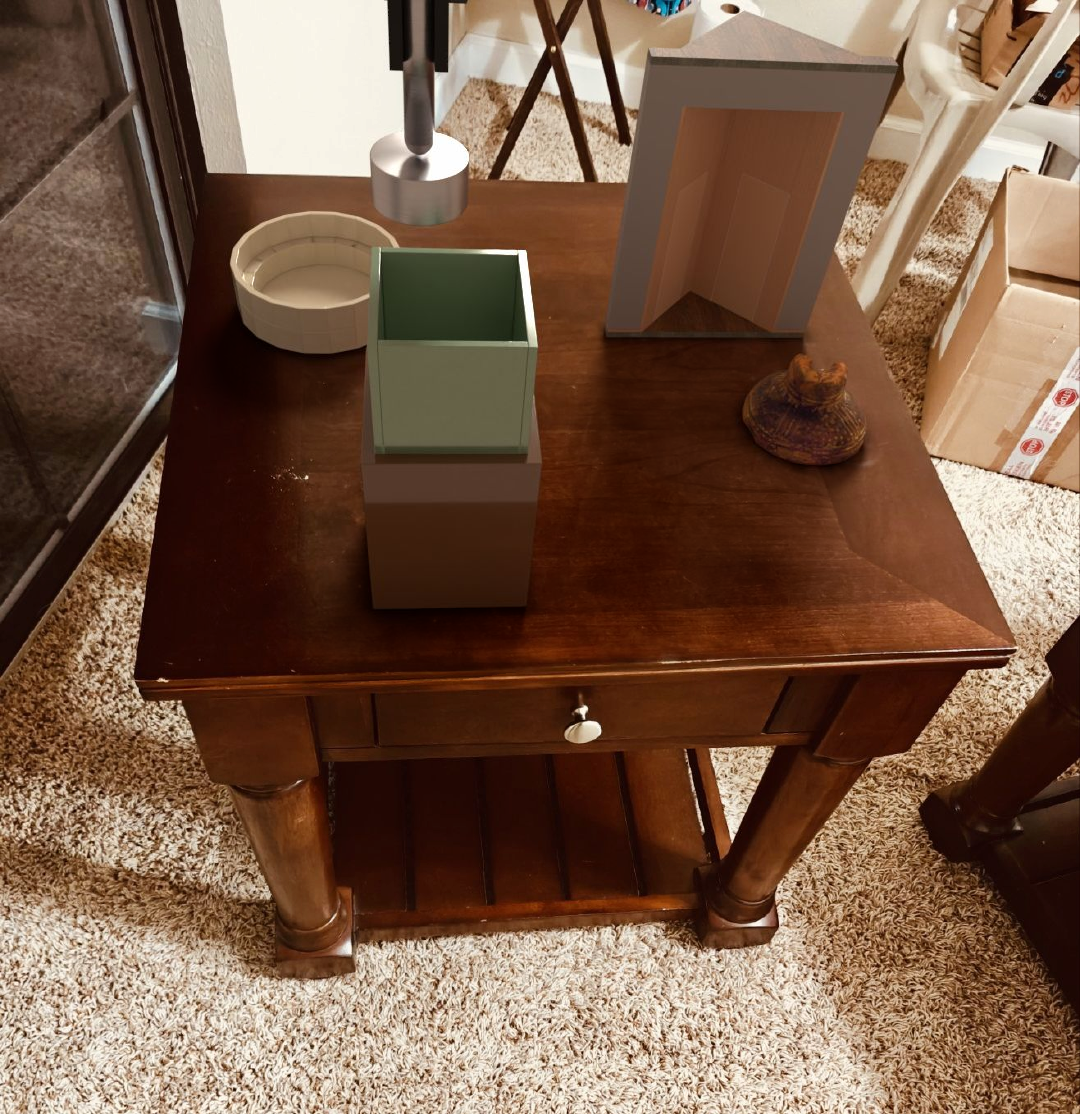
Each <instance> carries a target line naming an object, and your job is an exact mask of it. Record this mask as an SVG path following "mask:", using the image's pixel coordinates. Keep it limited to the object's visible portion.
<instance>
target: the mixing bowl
mask: <svg viewBox="0 0 1080 1114" xmlns="http://www.w3.org/2000/svg"><path fill="white" fill-rule="evenodd" d="M372 247H395V248H401V247H400V245H399V244H398V242H397V240H396V238H395V237H394V236H393V235H392V234H390V233H389V232H388V231H387V230H386V229H385V228H383V227H382V226H380V225H379V224H376V223H375V222H372V221H370V220H368V219H365V218H364V217H361V216H357V215H352V214H348V213H343V212H338V211H324V210H323V211H322V210H321V211H317V210H313V211H312V210H307V211H302V212H294V213H288V214H283V215H280V216H277V217H274V218H271V219H269V220H266V221H263V222H261V223H259V224H258V225H256V226H255V227H254V228H251V229H250V230H248V231H247V232H245V233H244V234H243V235H242V236H241V237H240V239H239V240H238V241H237V242H236V244H234V246H233V248H232V250H231V251H232V252H231V257H230V260H229V261H230V262H229V266H230V271H231V277H232V283H233V289H234V293H235V299H236V303H237V308H238V312H239V315H240V317H241V320H242V323H243V325H245V327H247V329H248V330H249V331H251V332H252V334H253V335H254V336H255V337H256V338H258V339H259V340H262V341H264V342H266V343H268V344H270V345H272V346H274V347H275V348H279V349H282V350H288V351H291V352H295V353H301V354H322V355H323V354H324V355H325V354H328V355H329V354H337V353H341V352H347V351H353V350H358V349H360V348H363V347H364V346H367V335H368V314H369V293H370V273H371V252H372Z"/></svg>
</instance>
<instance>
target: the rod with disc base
mask: <svg viewBox="0 0 1080 1114" xmlns="http://www.w3.org/2000/svg"><path fill="white" fill-rule="evenodd" d="M402 34H403V71H402V91H403V92H402V97H403V99H402V101H403V104H402V105H403V131H397V132H393V133H389V134H387V135H384V136H383V137H380V138H379V139H378V140H376V142H374V143H373V145H372V146H371V149H370V151H369V167H370V185H371V187H370V189H371V202H372V204H373V206H374V208H375V209H376V211H377V212H378V213H379V214H381V215H382V216H383V217H384V218H386V219H388V220H391V221H393V222H395V223H398V224H403V225H407V226H413V227H433V226H438V225H443V224H446V223H449V222H452V221H454V220H456V219H458V218H459V217H460V216H461V215H463V214H464V212H465V211H466V209H467V207H468V204H469V180H470V179H469V177H470V155H469V152H468V150H467V148H466V147H465V146H464V145H463V144H462V143H461V142H459V141H458V140H457V139H454V138H453V137H451V136H449V135H446V134H443V133H439V132H436V131H435V128H436V125H435V123H436V122H435V121H436V120H435V119H436V116H435V115H436V114H435V113H436V110H435V109H436V108H435V107H436V106H435V105H436V103H435V102H436V100H435V99H436V97H435V94H436V93H435V92H436V91H435V90H436V89H435V86H436V84H435V83H436V81H435V80H436V79H435V78H436V77H435V75H436V72H435V67H434V0H402Z"/></svg>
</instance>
